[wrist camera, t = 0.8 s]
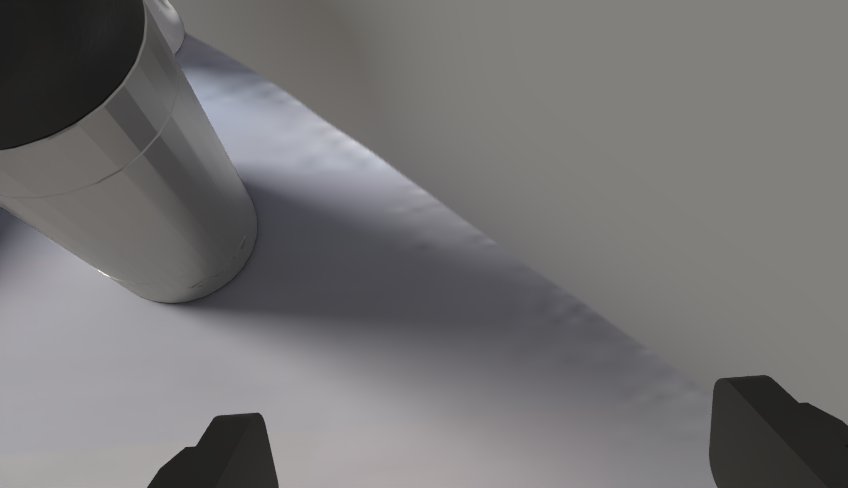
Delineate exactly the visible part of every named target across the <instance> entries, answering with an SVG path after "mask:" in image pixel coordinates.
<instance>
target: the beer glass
mask: <svg viewBox="0 0 848 488" xmlns="http://www.w3.org/2000/svg"><path fill="white" fill-rule="evenodd" d="M144 1H145V3H146V4H147V6H148V8H149V10H150V12H151V14H152V16H153V18H154V19H155V21H156V23H157V25H158V27H159V29H160V31H161V33H162V34H163V36H164V38H165V39H166V41H167V43H168V45H169V47H170V49H171V50H172V52H173V54H175V53H176V52H177V51H178V50H179V48H180V47H181V45H182V43H183V40H184V34H185V31H184V25H183V22H182V20H181V18H180V16H179V15H178V13H177V12H176V11H175V9H174V8H173V7H172V6H171V4H170V3H169V2H168V0H144Z"/></svg>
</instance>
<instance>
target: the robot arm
mask: <svg viewBox="0 0 848 488" xmlns="http://www.w3.org/2000/svg"><path fill="white" fill-rule="evenodd" d="M0 207H2V208H4V209H5V210H7V211H8V212H10V213H11V214H13V215H14V216H16V217H17V218H19V219H20V220H22V221H24V222H25V223H27V224H28V225H30V226H31V227H33V228H34V229H36V230H37V231H39V232H40V233H42V234H44V235H45V236H47V237H48V238H50V239H51V240H53V241H54V242H56V243H57V244H59V245H60V246H62V247H64V248H65V249H67V250H68V251H70V252H71V253H73V254H74V255H76V256H77V257H79V258H80V259H82V260H84V261H85V262H87V263H88V264H90V265H91V266H93V267H94V268H96V269H97V270H99V271H100V272H101V273H103V274H105V275H106V276H108V277H109V278H111V279H112V280H114V281H116V282H117V283H119V284H120V285H122V286H123V287H125V288H127V289H128V290H130V291H131V292H133V293H135V294H136V295H138V296H140V297H143V298H146V299H149V300H152V301H156V302H165V303H177V302H187V301H191V300H194V299H198V298H201V297H204V296H206V295H208V294H210V293H212V292H214V291H216V290H218V289H220V288H221V287H223V286H224V285H225V284H226V283H228V282H229V281H230V280H232V279H233V278H234V277H235V276H236V274H237V273H238V272H239V271H240V270H241V269H242V268H243V267H244V265H245V263H246V262H247V260H248V258H249V256H250V255H251V253H252V250H253V247H254V244H255V241H256V236H257V225H258V224H257V217H256V211H255V208H254V206H253V203H252V201H251V198H250V196H249V195H248V193H247V191H246V189H245V187H244V185H243V183H242V181H241V180H240V178H239V176H238V174H237V172H236V170H235V168H234V166H233V164H232V162H231V160H230V158H229V156H228V155H227V153H226V151H225V149H224V147H223V145H222V143H221V142H220V140H219V138H218V136H217V134H216V132H215V130H214V129H213V127H212V125H211V123H210V121H209V119H208V117H207V116H206V114H205V112H204V110H203V108H202V106H201V104H200V103H199V101H198V99H197V97H196V95H195V93H194V91H193V89H192V88H191V86H190V84H189V82H188V80H187V78H186V76H185V75H184V73H183V71H182V69H181V67H180V65H179V63H178V62H177V60H176V58H175V56H174V54H173V52H172V50H171V49H170V47H169V45H168V43H167V41H166V39H165V38H164V36H163V34H162V33H161V31H160V29H159V27H158V25H157V23H156V21H155V19H154V18H153V16H152V14H151V12H150V10H149V8H148V6H147V4H146V3H145V1H144V0H0ZM709 460H710V466H711V471H712V474H713V477H714V480H715V483H716V485H717V487H718V488H848V426H847V425H846V424H845V423H844V422H843V421H841V420H839V419H838V418H836V417H834V416H832V415H830V414H828V413H826V412H824V411H822V410H820V409H818V408H816V407H815V406H812V405H811V404H809V403H798V402H797V401H796V400H795V399H794V398H793V397H792V396H791V395H790V394H788V393H787V392H786V391H785V390H784V389H783V388H782V387H781V386H780V385H779V384H778V383H777V382H775V381H774V380H773V379H772V378H770V377H769V376H766V375H760V376H746V377H733V378H721V379H719V380H717V382H716V383H715V386H714V391H713V404H712V418H711V433H710V447H709ZM147 488H279V486H278V480H277V475H276V471H275V466H274V462H273V457H272V453H271V448H270V443H269V439H268V434H267V430H266V425H265V422H264V419H263V417H262V415H261V414H260V413H247V414H234V415H221V416H216V417H215V418H214V419H213V420H212V421H211V423H210V425H209V426H208V428H207V429H206V431H205V433H204V434H203V436H202V437H201V439H200V441H199V442H198V444H197V445H196V446H195V447H185V448H184V449H183V450H182V451H180V452H179V453H178V454H177V455H176V456H175V457H173V458H172V459H171V460H170V461H169V462H167V463H166V464H165V465H164V466H163V467H161V468H160V469H159V471H158V472H157V474H156V475H155V477H154V478H153V480H152V481H151V483H150V484H149V486H148V487H147Z"/></svg>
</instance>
